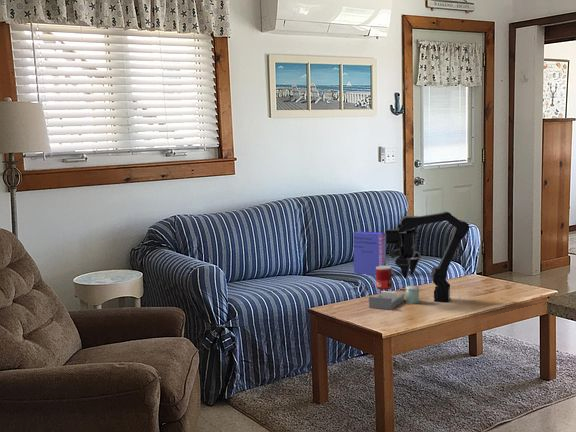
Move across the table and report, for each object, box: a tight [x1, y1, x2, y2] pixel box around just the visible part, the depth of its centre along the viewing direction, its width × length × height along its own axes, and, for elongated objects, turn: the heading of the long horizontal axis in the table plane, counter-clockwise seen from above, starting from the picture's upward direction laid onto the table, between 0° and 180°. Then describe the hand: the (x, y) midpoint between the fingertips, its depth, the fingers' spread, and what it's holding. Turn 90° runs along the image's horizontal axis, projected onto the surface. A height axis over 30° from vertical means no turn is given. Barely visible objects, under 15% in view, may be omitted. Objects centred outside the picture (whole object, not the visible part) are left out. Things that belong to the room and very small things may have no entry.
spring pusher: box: [380, 290, 398, 300], centre depth 305 cm, size 7×1×4 cm, turn 62°
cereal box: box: [352, 230, 387, 277], centre depth 366 cm, size 17×5×24 cm, turn 58°
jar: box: [405, 285, 420, 305], centre depth 303 cm, size 6×6×7 cm
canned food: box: [375, 265, 393, 291], centre depth 333 cm, size 8×8×11 cm
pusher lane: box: [368, 293, 406, 311], centre depth 302 cm, size 10×19×5 cm, turn 152°
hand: (408, 276), depth 304 cm, fingers open, 9 cm apart
